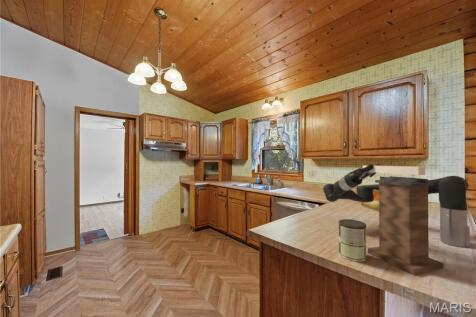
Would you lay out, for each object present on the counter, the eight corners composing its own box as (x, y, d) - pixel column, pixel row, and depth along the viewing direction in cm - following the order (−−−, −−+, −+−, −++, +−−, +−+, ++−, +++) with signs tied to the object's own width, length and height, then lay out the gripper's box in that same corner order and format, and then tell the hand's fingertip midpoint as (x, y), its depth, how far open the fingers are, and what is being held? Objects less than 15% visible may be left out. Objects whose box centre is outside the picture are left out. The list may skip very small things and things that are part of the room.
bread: (395, 212, 161) (395, 193, 162) (380, 212, 161) (380, 193, 161) (374, 205, 186) (374, 189, 187) (361, 205, 186) (360, 189, 186)
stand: (367, 252, 89) (367, 176, 89) (394, 248, 94) (394, 175, 94) (413, 274, 72) (412, 180, 72) (443, 268, 76) (443, 179, 77)
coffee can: (334, 250, 91) (334, 219, 91) (356, 250, 91) (356, 219, 92) (347, 262, 81) (347, 226, 81) (372, 261, 81) (372, 226, 81)
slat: (362, 171, 99) (362, 165, 99) (368, 171, 100) (368, 165, 100) (418, 174, 76) (418, 166, 76) (425, 174, 77) (425, 166, 77)
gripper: (363, 187, 109) (391, 172, 94) (341, 188, 105) (367, 173, 90) (357, 174, 112) (383, 159, 98) (336, 175, 108) (360, 158, 94)
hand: (375, 165), depth 94 cm, fingers closed on slat, 3 cm apart
